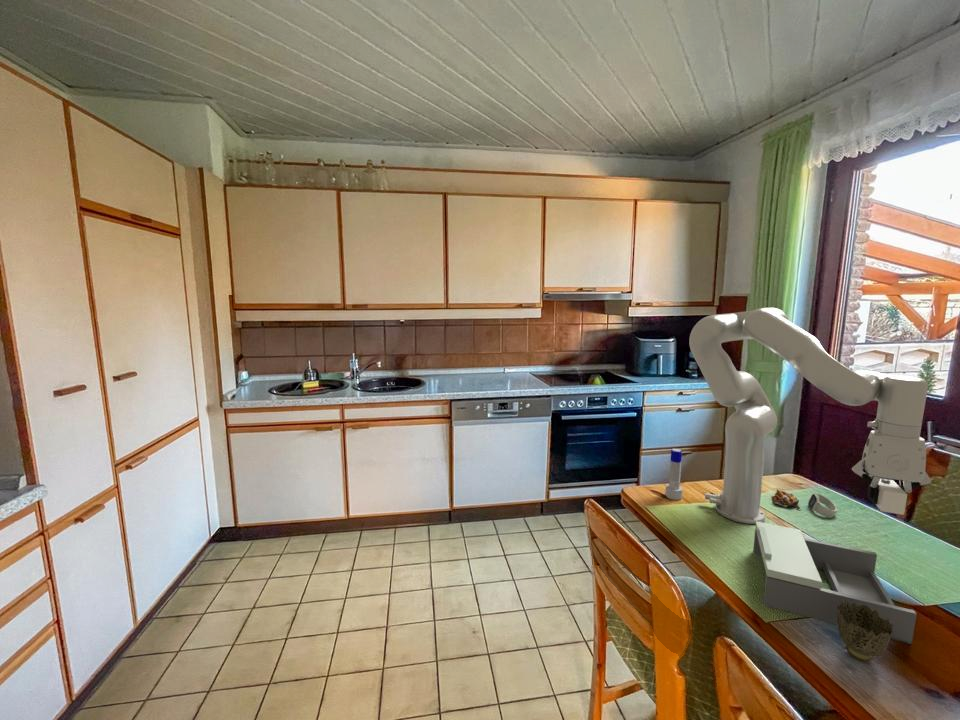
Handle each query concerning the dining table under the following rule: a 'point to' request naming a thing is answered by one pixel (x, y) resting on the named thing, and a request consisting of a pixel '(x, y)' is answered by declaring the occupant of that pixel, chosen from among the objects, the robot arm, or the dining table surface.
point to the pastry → (785, 499)
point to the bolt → (674, 476)
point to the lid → (787, 555)
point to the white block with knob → (891, 497)
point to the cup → (863, 631)
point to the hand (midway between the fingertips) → (885, 502)
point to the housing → (839, 588)
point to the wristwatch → (816, 506)
